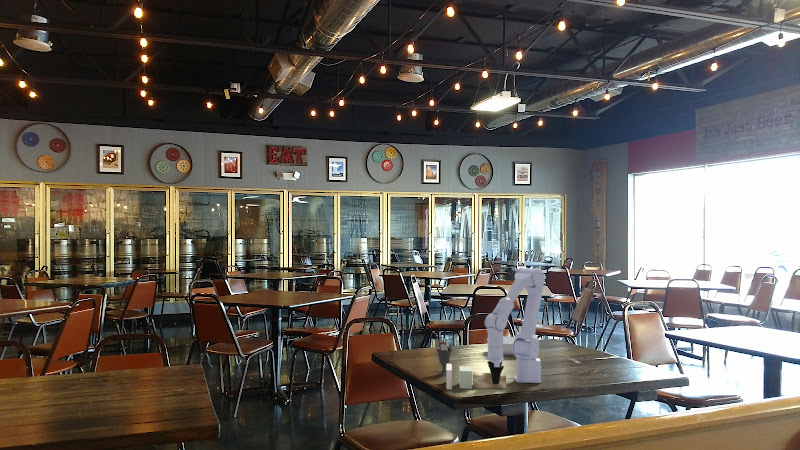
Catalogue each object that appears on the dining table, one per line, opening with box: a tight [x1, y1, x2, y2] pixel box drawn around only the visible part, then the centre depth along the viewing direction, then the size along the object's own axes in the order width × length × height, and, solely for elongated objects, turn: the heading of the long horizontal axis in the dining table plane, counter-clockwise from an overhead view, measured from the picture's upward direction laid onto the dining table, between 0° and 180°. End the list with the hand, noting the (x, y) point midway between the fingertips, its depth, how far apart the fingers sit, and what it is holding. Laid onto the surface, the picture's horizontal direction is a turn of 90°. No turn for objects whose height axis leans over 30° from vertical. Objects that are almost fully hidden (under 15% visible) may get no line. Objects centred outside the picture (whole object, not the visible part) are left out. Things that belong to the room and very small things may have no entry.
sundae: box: [436, 336, 453, 376], centre depth 236 cm, size 7×7×15 cm
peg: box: [472, 372, 507, 389], centre depth 217 cm, size 12×4×5 cm, turn 86°
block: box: [458, 365, 473, 390], centre depth 217 cm, size 4×8×6 cm, turn 175°
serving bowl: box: [486, 336, 530, 357], centre depth 278 cm, size 21×21×7 cm
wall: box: [445, 363, 453, 390], centre depth 218 cm, size 2×11×7 cm, turn 175°
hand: (495, 382), depth 216 cm, fingers closed on peg, 4 cm apart
